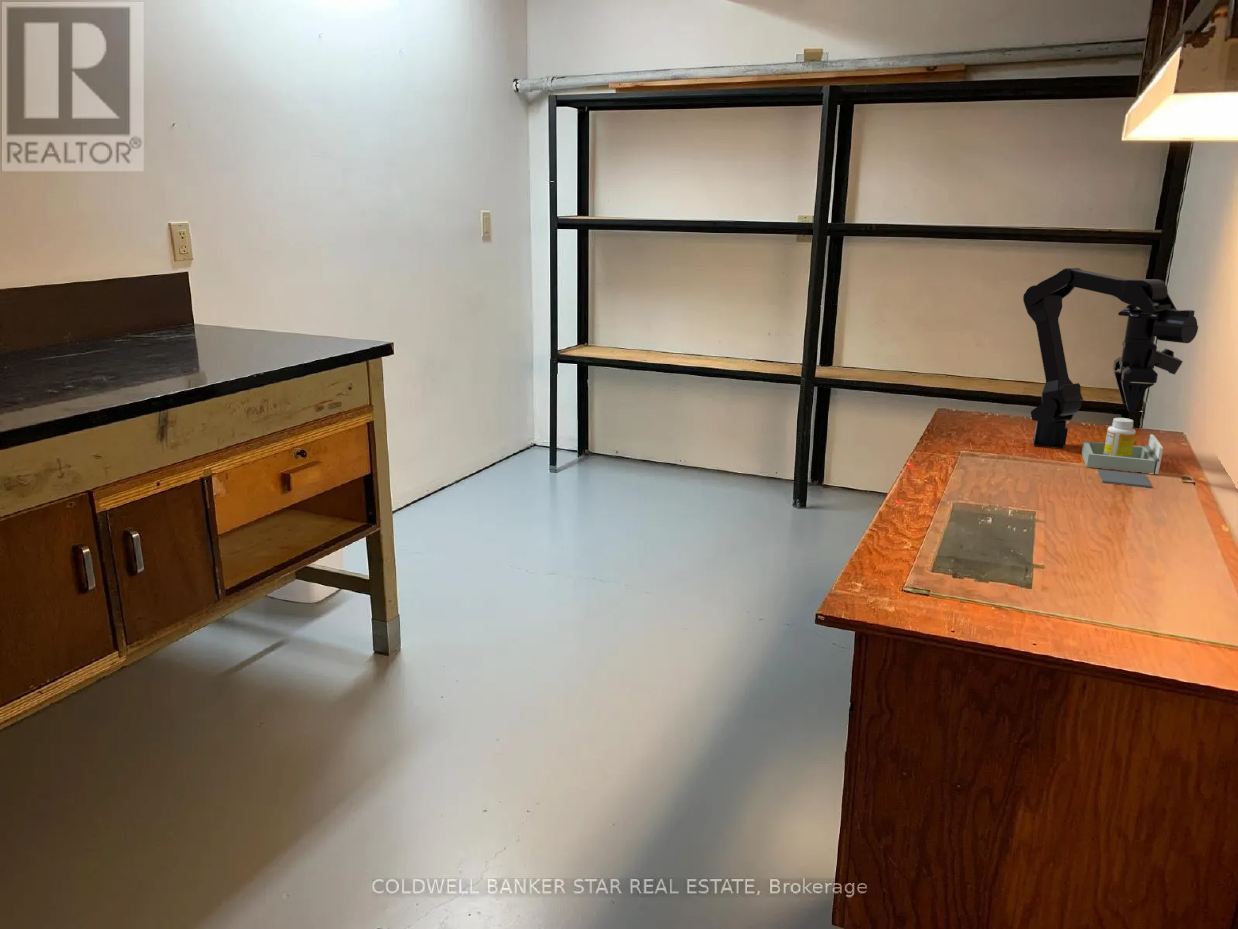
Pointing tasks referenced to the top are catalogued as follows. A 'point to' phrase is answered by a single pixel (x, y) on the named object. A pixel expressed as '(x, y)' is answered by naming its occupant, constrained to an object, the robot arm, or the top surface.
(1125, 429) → the supplement bottle
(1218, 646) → the top surface
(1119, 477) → the mat
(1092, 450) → the drawer
